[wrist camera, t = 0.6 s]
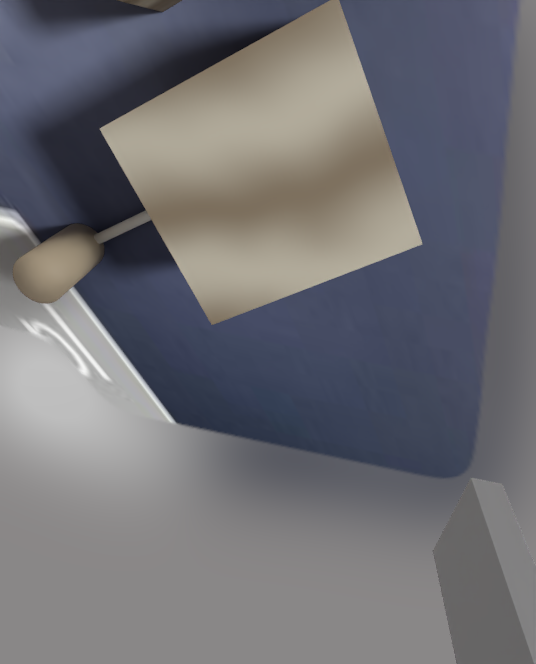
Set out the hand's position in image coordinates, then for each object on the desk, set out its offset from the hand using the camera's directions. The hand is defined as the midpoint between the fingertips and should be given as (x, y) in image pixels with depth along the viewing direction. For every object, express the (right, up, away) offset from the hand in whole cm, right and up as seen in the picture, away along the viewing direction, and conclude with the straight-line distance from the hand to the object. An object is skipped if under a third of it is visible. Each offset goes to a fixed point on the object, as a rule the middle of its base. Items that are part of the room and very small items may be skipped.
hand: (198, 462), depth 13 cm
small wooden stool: (+3, +15, +18) cm, 24 cm away
